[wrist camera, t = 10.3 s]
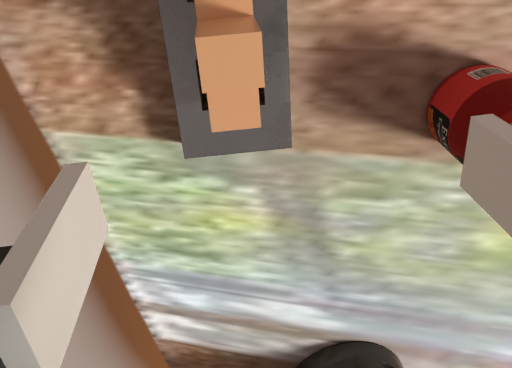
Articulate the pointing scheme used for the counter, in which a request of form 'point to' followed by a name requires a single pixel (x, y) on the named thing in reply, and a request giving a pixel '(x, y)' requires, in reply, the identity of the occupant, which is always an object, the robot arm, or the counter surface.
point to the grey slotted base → (196, 107)
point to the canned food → (468, 104)
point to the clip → (230, 62)
